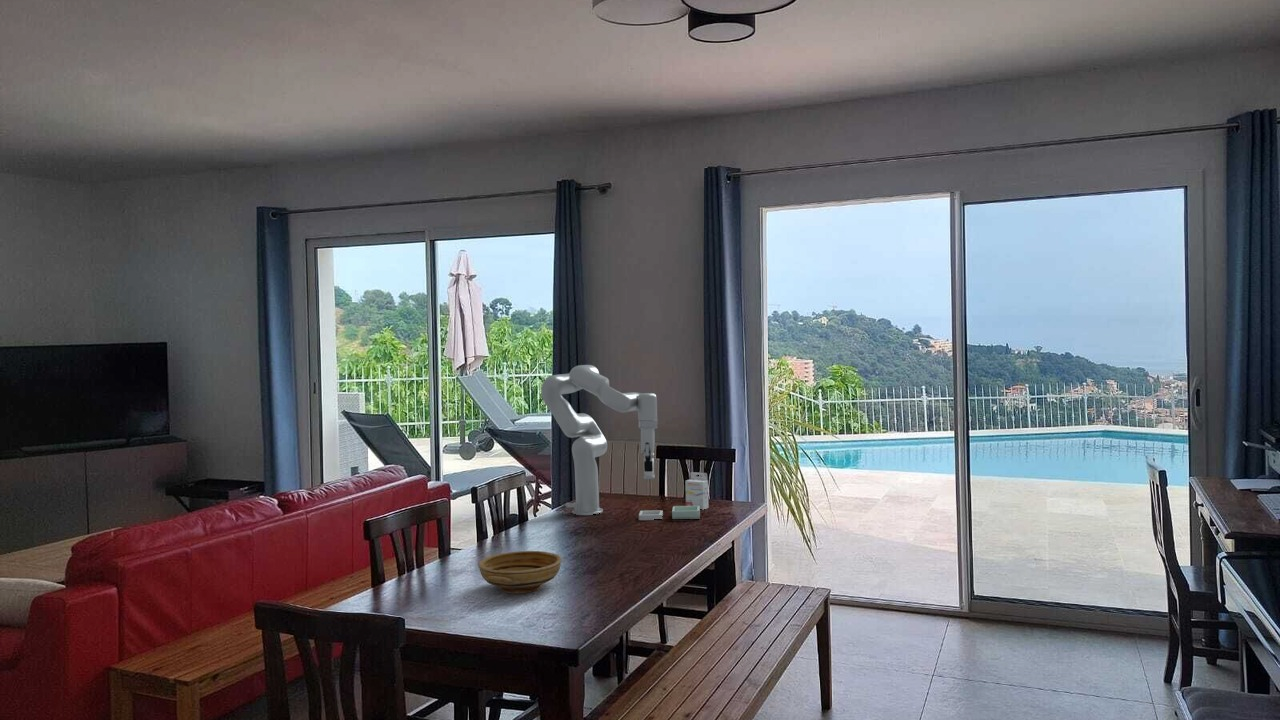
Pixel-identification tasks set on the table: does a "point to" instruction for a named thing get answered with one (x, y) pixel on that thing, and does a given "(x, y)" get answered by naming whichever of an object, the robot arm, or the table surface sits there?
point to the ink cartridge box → (697, 490)
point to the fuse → (649, 474)
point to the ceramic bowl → (520, 570)
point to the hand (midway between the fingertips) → (648, 469)
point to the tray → (686, 512)
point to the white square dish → (650, 515)
